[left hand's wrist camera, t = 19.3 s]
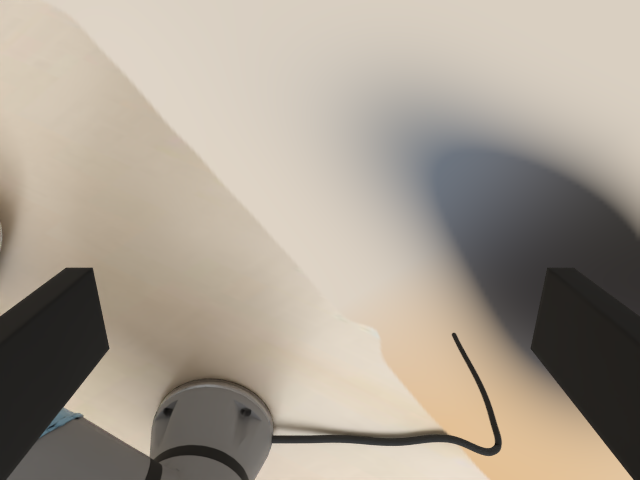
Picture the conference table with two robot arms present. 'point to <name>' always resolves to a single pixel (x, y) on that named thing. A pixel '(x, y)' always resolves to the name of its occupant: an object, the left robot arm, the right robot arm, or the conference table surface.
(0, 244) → the projector
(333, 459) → the conference table surface
